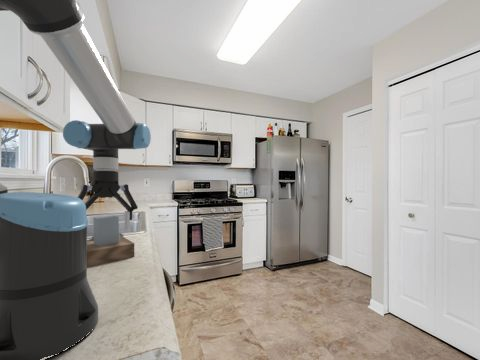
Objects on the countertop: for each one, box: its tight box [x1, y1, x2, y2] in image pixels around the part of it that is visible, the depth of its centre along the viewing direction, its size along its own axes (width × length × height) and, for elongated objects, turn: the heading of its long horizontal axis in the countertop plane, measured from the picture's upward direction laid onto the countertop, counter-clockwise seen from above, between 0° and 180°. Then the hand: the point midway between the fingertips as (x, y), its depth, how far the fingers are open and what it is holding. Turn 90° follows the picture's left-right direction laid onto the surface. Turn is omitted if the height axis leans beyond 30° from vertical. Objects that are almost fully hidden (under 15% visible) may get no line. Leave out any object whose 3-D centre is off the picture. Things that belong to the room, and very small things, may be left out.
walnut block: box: [87, 236, 135, 268], centre depth 78 cm, size 14×14×5 cm
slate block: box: [92, 214, 120, 247], centre depth 78 cm, size 6×6×9 cm
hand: (106, 232), depth 78 cm, fingers open, 13 cm apart
